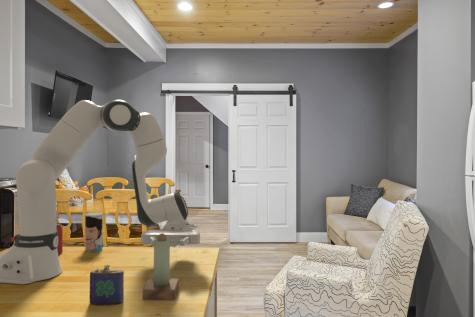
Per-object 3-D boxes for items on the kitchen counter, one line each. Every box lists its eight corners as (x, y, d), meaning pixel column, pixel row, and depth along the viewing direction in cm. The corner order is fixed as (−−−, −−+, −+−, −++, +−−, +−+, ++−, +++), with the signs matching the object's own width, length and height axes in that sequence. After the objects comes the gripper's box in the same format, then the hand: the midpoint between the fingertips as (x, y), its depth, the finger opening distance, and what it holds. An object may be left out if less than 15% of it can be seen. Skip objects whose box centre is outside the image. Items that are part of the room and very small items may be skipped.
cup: (84, 248, 157) (84, 213, 156) (101, 246, 160) (101, 212, 159) (86, 252, 151) (86, 216, 150) (103, 250, 154) (103, 214, 153)
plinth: (142, 299, 106) (142, 289, 106) (149, 287, 115) (149, 278, 115) (174, 299, 106) (174, 289, 106) (178, 287, 115) (178, 278, 115)
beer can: (55, 256, 145) (55, 226, 145) (40, 255, 146) (40, 225, 146) (66, 251, 152) (66, 222, 151) (51, 250, 153) (51, 221, 152)
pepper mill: (152, 286, 108) (152, 235, 108) (155, 280, 113) (155, 231, 112) (168, 286, 108) (168, 235, 108) (170, 280, 113) (170, 231, 112)
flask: (124, 300, 106) (124, 263, 105) (122, 304, 103) (122, 266, 102) (91, 301, 105) (90, 263, 104) (87, 305, 102) (87, 267, 101)
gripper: (145, 224, 135) (136, 233, 121) (201, 224, 136) (198, 233, 122) (145, 241, 135) (136, 252, 122) (201, 241, 136) (198, 252, 122)
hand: (167, 243), depth 122 cm, fingers open, 8 cm apart
